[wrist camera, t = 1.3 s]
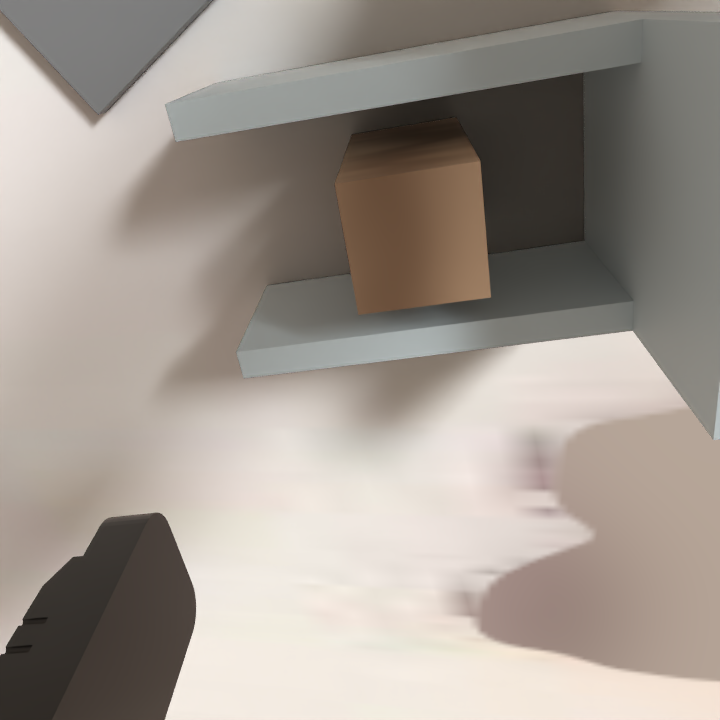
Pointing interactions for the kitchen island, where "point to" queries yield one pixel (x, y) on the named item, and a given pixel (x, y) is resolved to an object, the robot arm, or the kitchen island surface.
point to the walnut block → (413, 217)
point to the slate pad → (101, 39)
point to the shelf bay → (542, 264)
